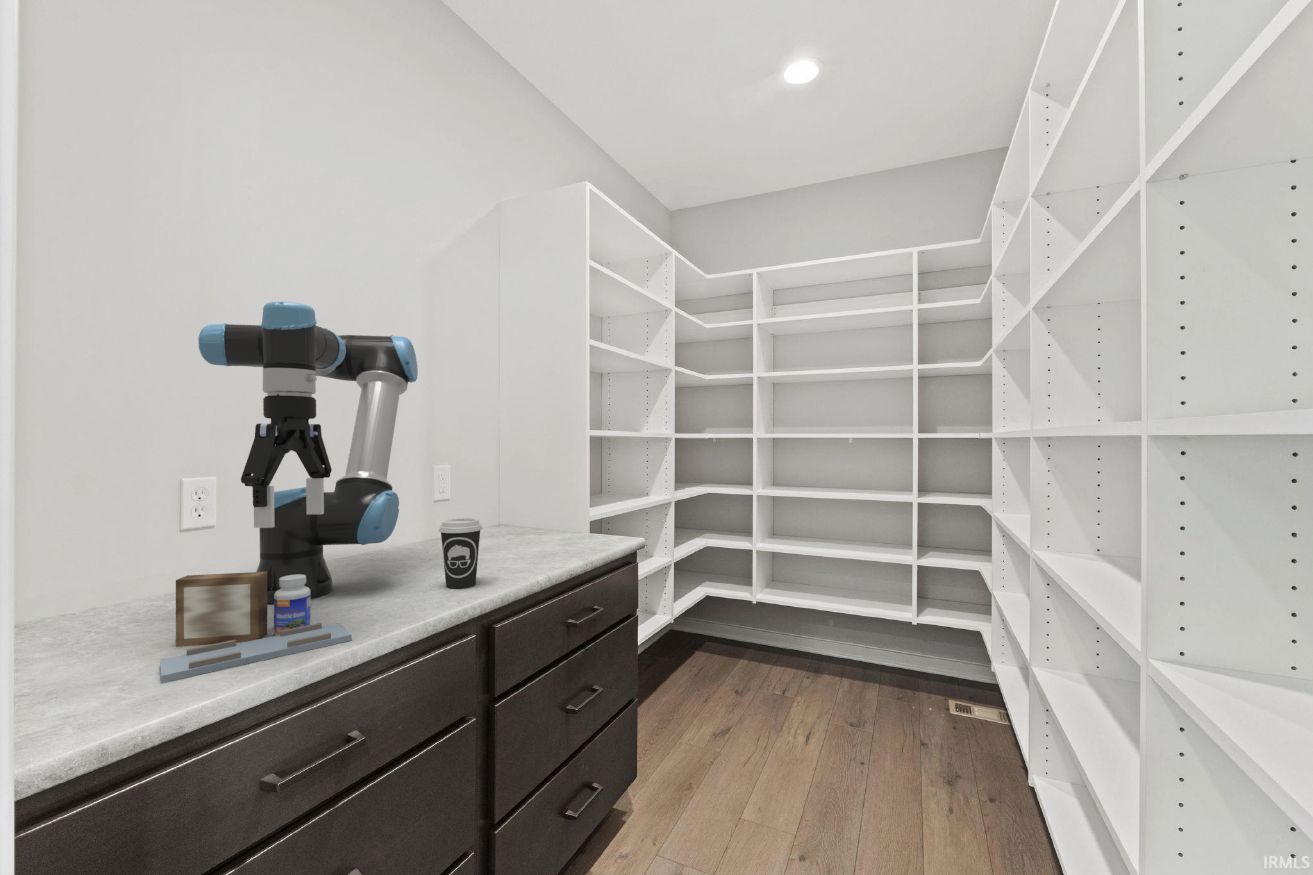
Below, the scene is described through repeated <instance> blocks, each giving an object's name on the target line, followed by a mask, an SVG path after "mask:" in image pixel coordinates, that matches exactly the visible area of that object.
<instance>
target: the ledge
mask: <svg viewBox="0 0 1313 875" xmlns="http://www.w3.org/2000/svg"><path fill="white" fill-rule="evenodd" d="M350 641H353V640H352V633H351V632H350V631H349V630H347V628H346V627H344V626H343V625H342V624H341V623H340V622H338V623H333V624H328V625H323V624H322V622H318V623H312V624H310V625H307V626H302V627H297V628H292V629H287V630H281V631H280V635H278V636H276V635H273V636H269V637H263V638H262V639H258V640H253V641H248V642H238V643H236V640H231V641H226V642H221V643H216V644H210V645H199V646H197V647H196V646H195V647H191V648H186V653H184V654H180V655H174V656H170V657H165V658H160V664H159V666H160V681H161V682H160V683H161V684H163V683H167V682H172V681H176V680H181V679H185V678H190V677H194V676H199V675H204V674H208V673H211V672H216V671H217V672H218V671H222V670H226V669H230V668H235V667H239V666H243V665H249V664H252V663H253V664H254V663H258V662H262V661H266V660H270V659H275V658H279V657H284V656H287V655H292V654H296V653H297V654H298V653H303V652H306V651H311V650H316V649H319V648H323V647H328V646H332V645H338V644H342V643H347V642H350Z"/></svg>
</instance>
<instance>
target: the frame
mask: <svg viewBox="0 0 1313 875" xmlns="http://www.w3.org/2000/svg"><path fill="white" fill-rule="evenodd" d="M267 635H268V603H267V572H256V571H254V572H251V571H250V572H249V571H248V572H233V573H208V574H190V575H185V576H183V577H180V578H177V579H176V580H175V648H179V647H181V648H182V647H192V646H195V647H196V646H206V645H211V644H216V643H221V642H226V641H231V640H236V644H238V643H243V642H248V641H253V640H258V639H263V638H266V636H267Z"/></svg>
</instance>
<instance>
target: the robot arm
mask: <svg viewBox="0 0 1313 875" xmlns="http://www.w3.org/2000/svg"><path fill="white" fill-rule="evenodd" d="M317 322H318V321H317V319H316V312H315V308H313V307H312V306H310V305H307V304H303V303H299V302H291V301H270V302H268V303H266V304H265V303H264V306H263V307H262V320H261V324H260V325H259V324H256V325H255V324H233V323H232V324H231V323H230V324H229V323H228V324H227V323H221V324H220V323H219V324H218V323H215V324H214V323H213V324H207V325H205V326H203V327H202V328H201V330H200V332H199V335H198V350H199V352H200V356H201V357H202V358H203V359H204V361H206V363H209V365H212V366H213V365H214V366H225V367H253V368H262V392H263V393H265V394H266V395H265V396H264V397H263V398H262V400H263V401H262V402H263V403H262V404H263V405H262V407H263V408H262V409H263V410H262V411H263V412H262V414H263V417H264V418H265V419H270V423H256V424H255V426H254V427H255V430H254V439H253V442H252V443H251V444H252V445H251V448H250V450H249V453H248V455H247V456H248V457H247V460H246V461H245V462H246V463H245V465H244V468H243V472H242V474H241V477H240V482H241V483H242V484H244V486H245V487H251V488H252V505H253V528H255V529H256V528H257V529H259V563H258V566H257V569H256V571H255V572H267V604H274V594H275V592H276V591H278V590H280V589H281V587H279V578H281V577H284V576H288V575H299V574H301V575H306V584H304V586H306V587H308V588H309V589H310V595H311V596H310V597H311V599H313V598H317V597H321V596H323V595H326V594H327V593H329V592H331V591H332V590H333V579H332V578H333V577H332V575H331V572H330V570H329V567H328V565H327V564H328V563H326V559H325V557H324V546H338V545H339V546H340V545H343V546H344V545H345V546H346V545H361V546H365V545H369V544H379V543H384V542H385V541H386V540H388V539H389V538H390V537H391V536H392V534H393V532H394V530H395V527H396V525H397V522H398V518H399V511H400V509H399V507H400V506H399V505H400V499H399V496H398V494H397V493H396V492H395V491H393V485H392V484H391V483H390V482H389V481H388V480H387V479H388V473H389V465H390V459H391V454H392V446H393V440H394V433H395V427H396V420H397V414H398V407H399V400H400V395H402V394H404V393H405V392H406V391H407V390H408V384H409V383H415V382H416V381H417V380H418V374H419V373H418V361H417V355H416V351H415V348H414V345H413V343H412V342H411V340H410V339H409V338H408V337H405V336H394V335H388V336H387V335H386V336H385V335H384V336H383V335H359V334H358V335H355V334H354V335H353V334H343V335H342V334H341V335H339V334H336V333H335V332H333V331H331V330H330V329H328V328H324V327H321V326H318V325H317ZM317 377H324V378H328V379H334V380H340V381H346V382H347V381H348V382H356V384H357V385H358V387H359V388H360V389H361V391H360V397H359V400H358V404H357V405H358V406H357V410H356V416H355V422H354V427H353V432H352V438H351V444H350V448H349V453H348V458H347V465H346V468H345V469H346V470H345V474H344V476H342V477H340V478H338V480H336V482H335V486H334V490H333V491H328V492H326V491H325V486H324V484H325V483H324V481H325V480H324V479H325V478H327V479H329V478H330V477H331V474H332V467H331V462H330V459H329V456H328V453H327V449H326V446H325V442H324V440H323V436H322V426H321V424H319V423H310V422H309V420H313V419H316V417H317V399H316V398H315V397H313V395H314V394H316V393H317V391H316V390H317V388H316V386H317V385H316V382H317ZM291 451H293V452H295V453H296V455H297V457H298V458H299V460H300V462H301V464H302V466H303V468H304V469H305V472H307V474H308V476H309V478H306V480H305V486H306V487H305V486H304V487H297V488H292V489H291V488H290V489H284V490H278V491H275V486H274V485H271V482H272V481H273V479H274V477H275V475H276V474H277V471H278V469H279V467H280V465H281V464H282V461H283V460H284V458H285V456H286V454H288V453H290V452H291Z"/></svg>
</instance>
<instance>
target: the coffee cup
mask: <svg viewBox="0 0 1313 875" xmlns="http://www.w3.org/2000/svg"><path fill="white" fill-rule="evenodd" d="M438 528H439V529H438V532H439V533H440V536H441V547H442V555H443V556H442V558H443V566H444V567H443V568H444V578H445V588H447V589H450V590H451V589H453V590H462V589H468V588H472V587H474V586H476V585H477V584H476V583H477V574H478V573H477V572H478V560H479V549H480V540H481V539H480V537H481V531H482V530H483V525H482V524H481V523H480V520H479V519H478V518H473V517H472V518H470V517H460V518H450V519H449V518H448V519H445V520H443V521H442V523H441V525H440V526H439V527H438Z"/></svg>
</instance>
